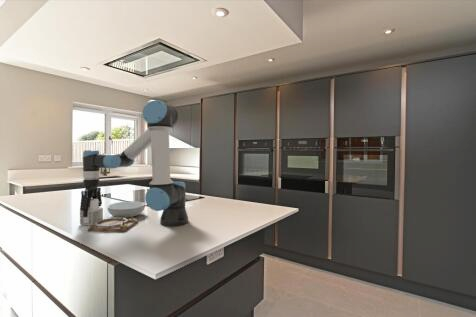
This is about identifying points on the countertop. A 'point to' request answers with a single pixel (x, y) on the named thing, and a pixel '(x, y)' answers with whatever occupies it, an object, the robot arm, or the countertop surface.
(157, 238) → the countertop surface
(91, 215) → the container
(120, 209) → the serving bowl
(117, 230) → the gear board
